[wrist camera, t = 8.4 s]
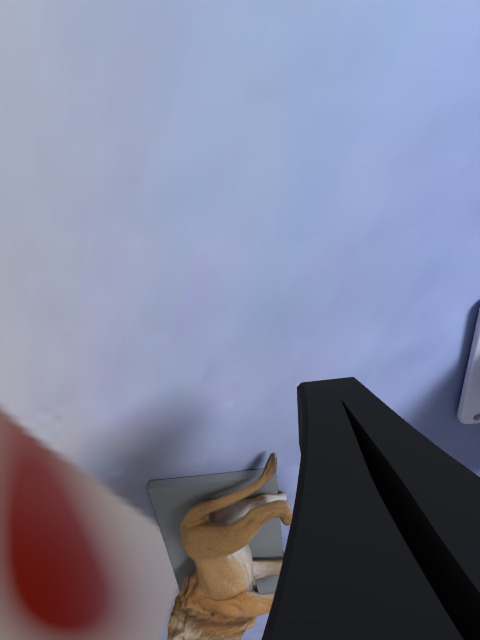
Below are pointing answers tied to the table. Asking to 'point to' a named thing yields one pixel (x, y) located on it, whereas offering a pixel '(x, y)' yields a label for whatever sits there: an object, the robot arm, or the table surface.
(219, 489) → the rubber mat
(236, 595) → the lion figurine
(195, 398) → the table surface
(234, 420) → the table surface
